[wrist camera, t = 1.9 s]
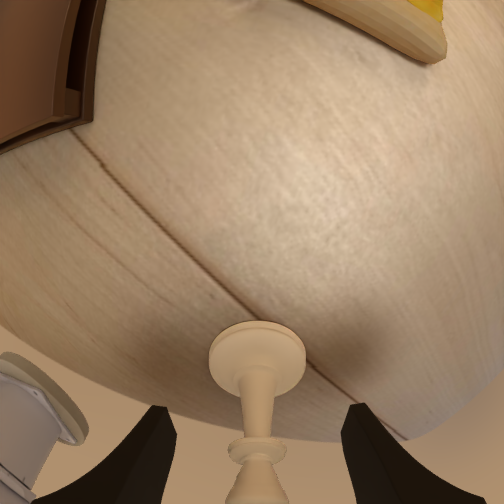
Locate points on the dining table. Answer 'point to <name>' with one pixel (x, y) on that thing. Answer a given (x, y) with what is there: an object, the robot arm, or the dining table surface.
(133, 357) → the dining table surface
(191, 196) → the dining table surface
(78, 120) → the stand
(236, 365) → the chess piece
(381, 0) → the pizza slice
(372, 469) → the robot arm
